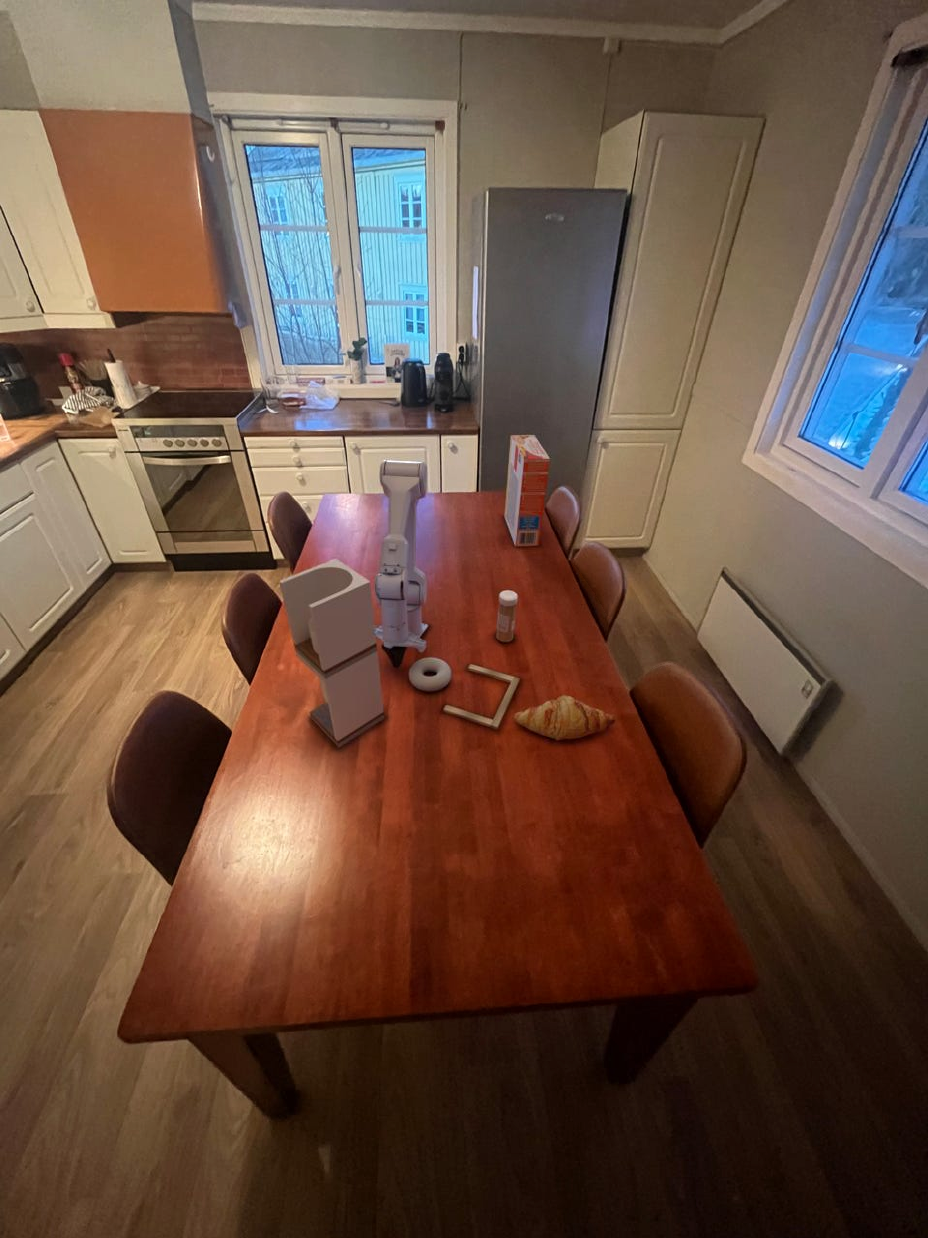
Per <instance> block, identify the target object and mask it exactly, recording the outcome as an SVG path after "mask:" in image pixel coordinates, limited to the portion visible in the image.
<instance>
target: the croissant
mask: <svg viewBox="0 0 928 1238" xmlns="http://www.w3.org/2000/svg"><path fill="white" fill-rule="evenodd" d="M514 721H515V722H516V723H517V724H518V725H520V726H523V727H525V728H526V729H528V730H529V731H531V732H533V733H537V734H539V735H541V736H543V737H548V738H551V739H554V740H555V741H557V742H558V741H561V740H573V739H574V740H575V739H576V740H577V739H581V738H583V737H586V736H588V735H591V734H595V733H597V732H602V731H604V730H606V729H607V728H609V727H611V725H613V724H614V723H615V722H616V718H615V715H614V714H612V713H605V712H604V711H603V710H602V709H598V708H595V707H594V708H593V707H591V706H590V705H588V704H586V703H584V701H582V700H577V699H576V698H574V697H573V696H569V695H566V694H565V695H560V696H559V697H557V699H549V700H546V701H545V702H544V703H543V704H542V705H537V706H530V707H528V708H527V709H526V710H524V711H518V712H517V713H515V714H514Z"/></svg>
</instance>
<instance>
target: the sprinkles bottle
mask: <svg viewBox="0 0 928 1238" xmlns="http://www.w3.org/2000/svg"><path fill="white" fill-rule="evenodd" d="M518 598H519V597H518V593H516V592H515V591H513V590H509V589H507V590H502V591H501V592H500V593H499V595H498V610H497V611H498V612H497V624H496V635H495V637H496V639H497V640H498V641H499V642H502V643H509V642H511V641H513V639H514V630H515V622H516V611H517V609H516V608H517V603H518Z"/></svg>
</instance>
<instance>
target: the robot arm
mask: <svg viewBox="0 0 928 1238" xmlns="http://www.w3.org/2000/svg"><path fill="white" fill-rule="evenodd" d="M379 484H380V486H381V488H382V491H383V494H384V496H386V497H387V498H388V523H387V524H388V529H387V530H388V534H387V535H386V536H385V538H383V539H382V541H381V549H380V562H379V570H378V572H379V573H378V572H377V574H376V576H375V579H374V595H375V598H376V600H377V605H378V606H379V608H380V609H379V610H380V620H381V625H375V634H376V639H378V640H379V641H380V642H382V644H381V650H383V652H384V653H385V654H386V655H387V657H388V659H389V660H390V662H391V665H392V667H393V668H396V669H400V667H401V666H402V665H403V661H404V656H405V654H406V651H407V649H408V648H413V649H417V650H418V652H419V653H424V651H425V650H426V648H427V640H424V639H422V638H421V636H422V635H423V634H424V633H425V631H426V630H427V629H428V627H429V625H428V624H427V623H423V622H422V621H423V620H422V619H423V618H422V607H423V606H424V605H426V602H427V596H428V584H427V576H426V574H425V572H423V571H422V570H421V569H419V568H418V567H417V566H416V563H417V561H416V559H417V513H418V505H419V500H421V499H424V498H426V496H427V493H428V492H427V491H428V466H427V464H426V462H425V461H403V460H388V459H383V460H382V461H381V462H380V465H379Z"/></svg>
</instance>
